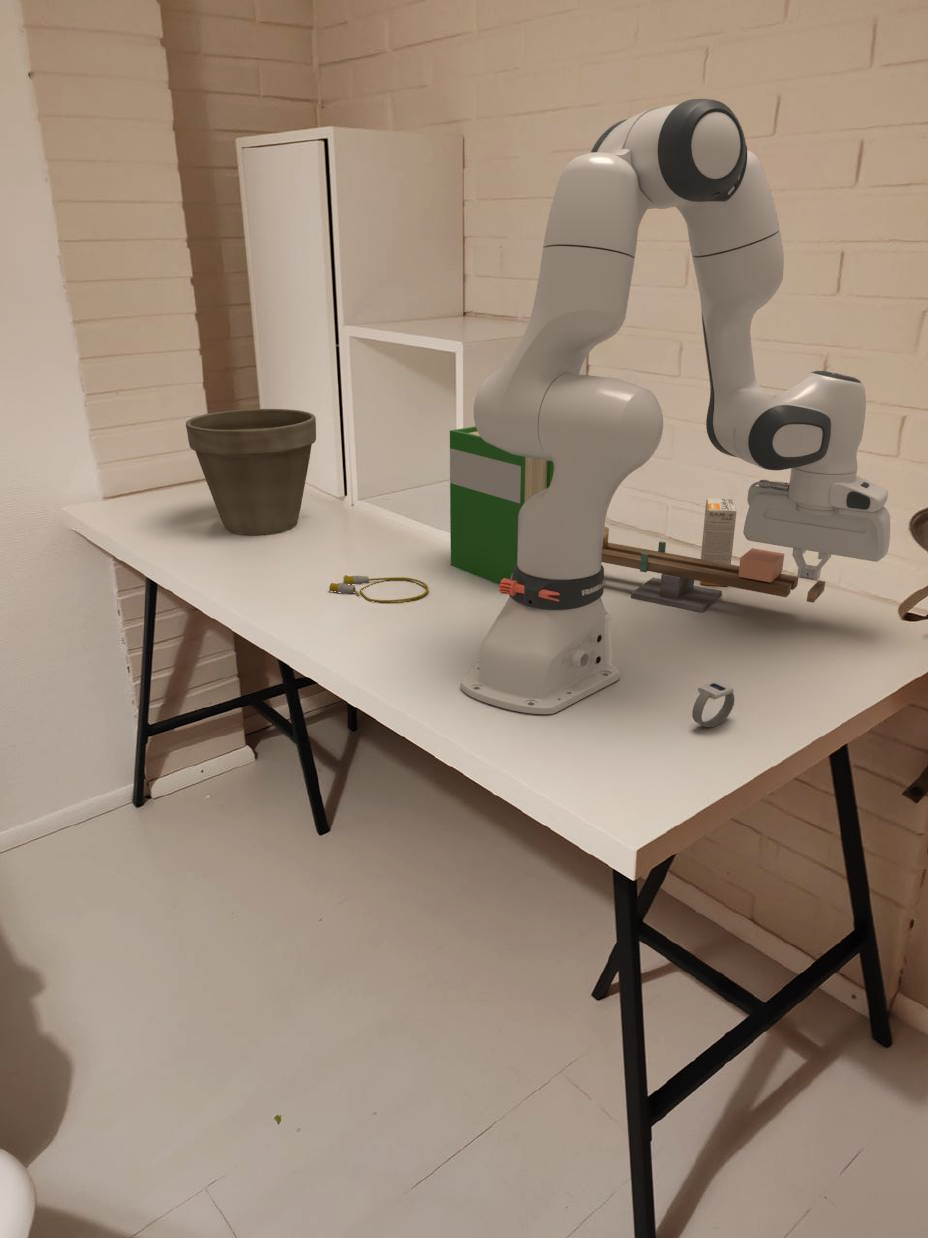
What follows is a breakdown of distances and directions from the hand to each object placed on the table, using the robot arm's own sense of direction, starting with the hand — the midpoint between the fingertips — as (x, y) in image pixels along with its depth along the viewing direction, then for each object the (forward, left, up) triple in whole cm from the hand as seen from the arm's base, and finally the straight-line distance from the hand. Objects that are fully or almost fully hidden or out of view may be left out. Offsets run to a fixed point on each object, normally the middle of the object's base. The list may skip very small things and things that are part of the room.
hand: (808, 578), depth 143 cm
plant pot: (-7, +106, -7) cm, 107 cm away
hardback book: (-6, +50, -7) cm, 51 cm away
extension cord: (-23, +62, -8) cm, 67 cm away
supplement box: (+12, +18, -7) cm, 23 cm away
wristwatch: (-39, 0, -7) cm, 40 cm away
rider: (0, +7, -2) cm, 7 cm away
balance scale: (0, +20, -7) cm, 21 cm away
